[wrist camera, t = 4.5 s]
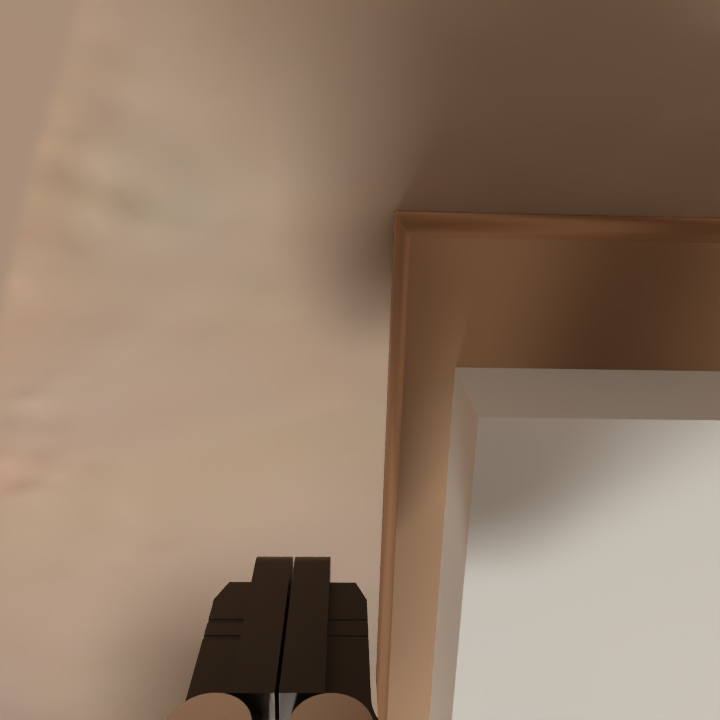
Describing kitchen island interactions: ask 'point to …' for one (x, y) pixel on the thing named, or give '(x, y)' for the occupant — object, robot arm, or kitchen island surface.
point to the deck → (512, 364)
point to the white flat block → (580, 547)
